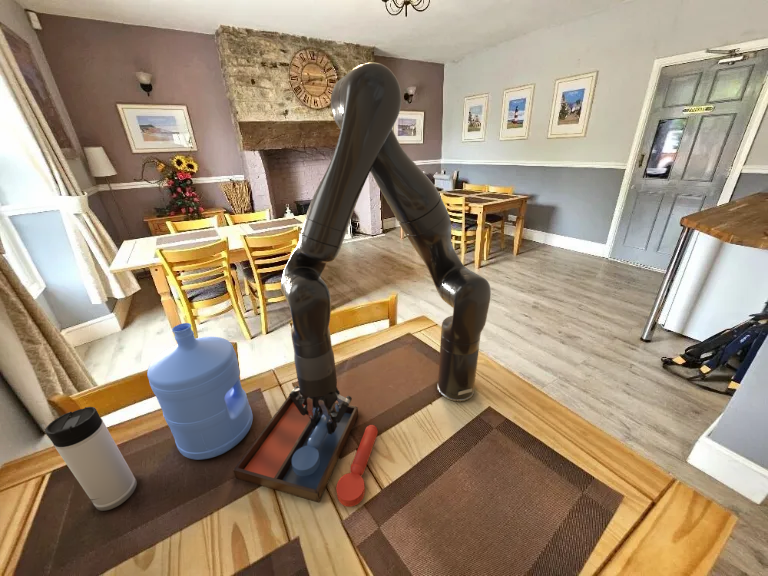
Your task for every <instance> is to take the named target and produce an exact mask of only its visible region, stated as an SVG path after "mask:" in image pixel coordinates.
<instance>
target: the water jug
mask: <svg viewBox="0 0 768 576" xmlns="http://www.w3.org/2000/svg"><path fill="white" fill-rule="evenodd" d="M171 332H172V333H173V334H174V339H175V341H176V343H177V344H175V345H173V346H171V347H169V348H168V349H166V350H164V351H162V352H161V353H160V354H159V355H157V356H156V357H155V358H154V359H153V361H151V363H150V364H149V365H148V368H147V371H146V373H147V375H146V376H147V379H148V383H149V386H150V388H151V390H152V393H153V394H154V395H155V397H156V400H157V402H158V404H159V406H160V409H161V411H162V415H163V418H164V420H165V422H166V425H167V426H168V427H169V429H170V431H171V434H172V436H173V439H174V442H175V445H176V449H177V450H178V452H179V453H180V454H181V455H182V456H183V457H185V458H187V459H190V460H196V461H197V460H198V461H199V460H201V461H203V460H208V459H212V458H216V457H218V456H221V455H223V454H225V453H227V452H229V451H231V450H232V449H234V448H235V447H236V446H237V445H238V444H240V443H241V441H243V440H244V438H245V437H246V436H247V434H249V431H250V430H251V427H252V425H253V419H254V415H253V411H252V408H251V405H250V403H249V399H248V395H247V393H246V391H245V390H244V388H243V386H242V383H241V379H240V374H241V370H240V367H239V360H238V357H237V352H236V350H235V348H234V345H233V344H232V342H231V341H229V340H228V339H226V338H224V337H219V336H203V337H195V333H194V330H192V324H191V323H189V322H183V323H179V324H177V325H175V326H174V327H172V329H171Z"/></svg>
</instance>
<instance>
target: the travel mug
mask: <svg viewBox="0 0 768 576" xmlns="http://www.w3.org/2000/svg"><path fill="white" fill-rule="evenodd" d="M44 432H45V434H46V435H47V437H48V439H49V440H50V441H51V443H52V445H53V447H54V448H55V449H56V451H57V453H58V454H59V456H60V457H61V458H62V460H63V461H64V463H65V465H66V466H67V467H68V469H69V470H70V472H71V473H72V475H73V476H74V477H75V479H76V481H77V482H78V483H79V485H80V487H81V488H82V489H83V491H84V492H85V494H86V496H87V497H88V498H89V500H90V501H91V503H92V504H93V506H94V507H95V508H96V510H98V511H101V512H103V511H104V512H105V511H110V510H112V509H115V508H117V507H119V506H120V505H122V504H124V502H126V501H127V500H128V499H129V498H130V497H131V496H132V495H133V493H134V492H135V490H136V488H137V486H138V485H137V484H138V483H137V479H136V477H135V476H134V474H133V472H132V469H131V468H130V467H129V465H128V463H127V461H126V460H125V458H124V456H123V454H122V453H121V451H120V449H119V446H118V445H117V443H116V442H115V439H114V438H113V436H112V435H111V433H110V431H109V429H108V427H107V425H106V423H105V422H104V420H103V419H102V417H101V416H100V414H99V412H98V411H97V409H96V407H95V406H85V407H84V408H80V409H76V410H74V411H69V412H66V413H64V414H62V415H60V416H58V417H56V418H55V419H54V420H52V421H51V422H50V423H49V424H47V426H46V427H45V429H44Z"/></svg>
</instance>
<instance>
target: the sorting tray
mask: <svg viewBox="0 0 768 576" xmlns="http://www.w3.org/2000/svg"><path fill="white" fill-rule="evenodd" d="M335 404H337V405H338V402H337V401H336V402H335ZM302 406H303V407H304V406H305V405H304V404H303V403H302ZM338 407H339V405H338ZM339 410H340V409H339ZM318 412H320V417H322V415H323V412H322V409H321V408H319V410H318ZM358 417H359V407H358V406H356V405H351V404H349V406H348V408H347V410H346V412H345V413H344V415H343V417H342V419H341V421H340V422H339V423H337V428H336V430H335V432H334V433H332V435H331V434H328V433H327V435H326V437H325V438H324V440H323V442H322V444H321V446H320V448H319V449H317V450H318V452H319V458H320V464H319V466H318V468H317V470H316V471H315V472H314V473H312V474H310V475H308V476H299V475H297V474H296V473H295V472H294V470H293V467H292V457H293V455H294V453H295V452H296V451H297V450H298V449H300V448H301V447H304V446H308V444H307V443H308V439H309V438H310V436H311V434H312V433H313V431H314V428H313V427H312V425H311V419H310V418H309V417H308V415H302V414H301V413H300V412H299V410H298V409H297V407H296V406H295V404H294V403H293V401H292V399H291V398H290V396H289V395H288V396H287V398H286V399H285V401H284V402H283V403H282V404H281V406H280V407H279V408H278V410H277V411H276V413H274V415H273V416H272V417H271V419H270V420H269V422H268V423H267V424H266V425H265V427H264V428H263V429H262V431H261V432H260V434H258V436H257V437H256V439H255V440H254V441H253V442H252V444H251V445H250V446H249V448H248V449H247V450H246V452H245V453H244V455H243V456H242V457H241V459H240V460H239V461H238V462H237V463H236V465H235V467H234V468H233V469H232V470H233V474H234V476H235V479H236V480H241V481H244V482H248V483H250V484H251V483H252V484H254V485H257V486H261V487H265V488H268V489H271V490H275V491H278V492H281V493H285V494H287V495H291V496H294V497H299V498H302V499H305V500H307V501H311V502H315V503H320V501H321V499H322V497H323V495H324V492H325V490H326V488H327V486H328V484H329V481H330V479H331V477H332V475H333V472H334V470H335V468H336V465H337V463H338V461H339V459H340V456H341V455H342V452H343V450H344V448H345V446H346V443H347V441H348V439H349V437H350V434H351V432H352V430H353V428H354V425H355V424H356V422H357V419H358Z"/></svg>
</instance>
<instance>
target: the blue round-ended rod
mask: <svg viewBox="0 0 768 576" xmlns="http://www.w3.org/2000/svg"><path fill="white" fill-rule="evenodd" d="M335 409H336V412H339V408H338V405H337V404H335ZM327 433H328V429H327V420H326V416H325V415H322V417H321V419H320V420H319V422H318V424H317V426H316V427H315V429H314V431H313V433H312V434H311V436H310V438H309V439H308V443H307V444H308V446H304V447H301V448H300V449H298V450H297V451H296V452H295V453H294V455H293V457H292V467H293V470H294V472H295V473H296V474H297V475H299V476H308V475H310V474H312V473H314V472H315V471H316V470H317V468H318V466H319V464H320V458H319V452H318V450H317V449H319V448H320V446H321V444H322V442H323V440H324V438H325V437H326V435H327Z"/></svg>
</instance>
